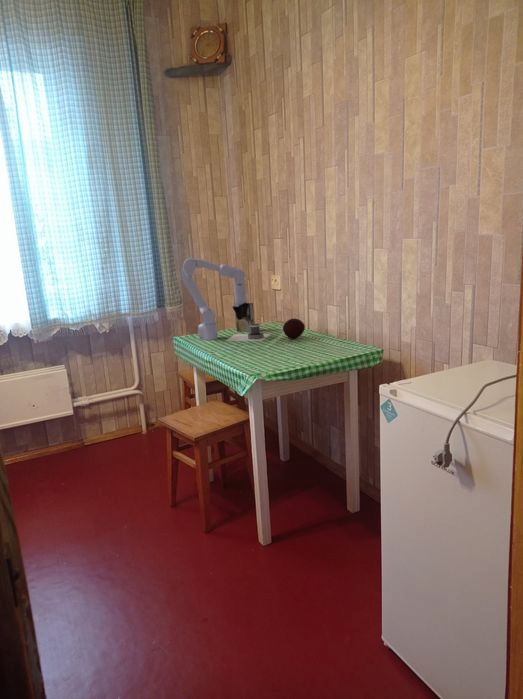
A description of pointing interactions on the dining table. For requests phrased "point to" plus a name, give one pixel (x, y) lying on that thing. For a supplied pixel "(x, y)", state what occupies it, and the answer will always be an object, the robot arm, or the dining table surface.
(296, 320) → the coconut
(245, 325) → the coffee box
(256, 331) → the lens
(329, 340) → the dining table surface
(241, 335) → the mount board
